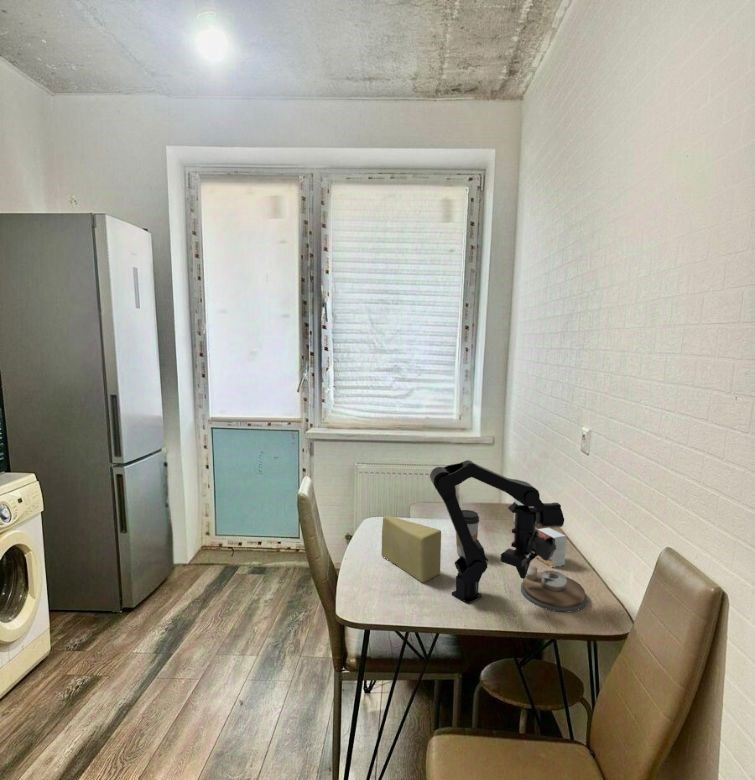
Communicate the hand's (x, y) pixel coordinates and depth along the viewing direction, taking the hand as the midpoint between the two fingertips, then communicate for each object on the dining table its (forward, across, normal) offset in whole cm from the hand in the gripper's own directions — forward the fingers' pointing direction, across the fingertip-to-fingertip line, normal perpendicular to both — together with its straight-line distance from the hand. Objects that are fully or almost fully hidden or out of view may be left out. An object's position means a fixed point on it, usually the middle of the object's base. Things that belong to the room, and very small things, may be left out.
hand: (522, 578), depth 130 cm
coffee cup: (+6, +12, +26) cm, 29 cm away
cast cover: (+3, +7, -7) cm, 10 cm away
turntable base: (+5, +7, -7) cm, 11 cm away
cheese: (+6, -9, +36) cm, 38 cm away
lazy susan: (+4, +7, -7) cm, 10 cm away
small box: (+5, +27, +2) cm, 28 cm away
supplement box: (+5, +56, +23) cm, 61 cm away
